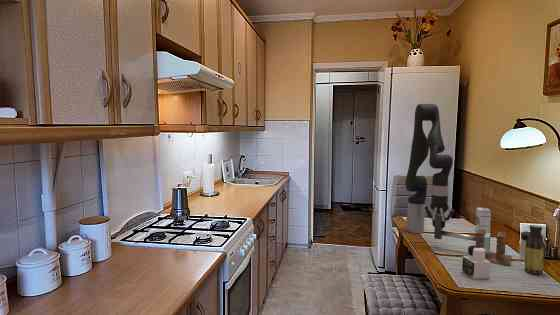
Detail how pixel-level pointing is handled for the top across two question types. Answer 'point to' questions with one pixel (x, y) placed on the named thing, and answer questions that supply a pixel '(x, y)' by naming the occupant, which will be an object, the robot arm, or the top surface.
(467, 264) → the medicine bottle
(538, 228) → the sauce bottle
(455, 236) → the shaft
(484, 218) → the syrup box
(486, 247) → the spacer
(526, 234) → the jar
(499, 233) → the bearing stand
